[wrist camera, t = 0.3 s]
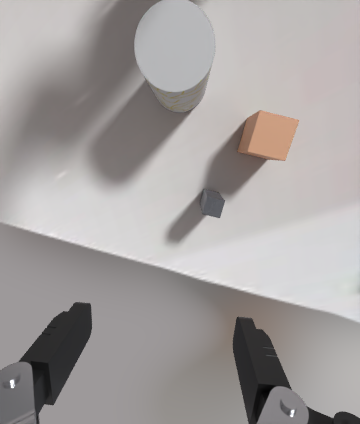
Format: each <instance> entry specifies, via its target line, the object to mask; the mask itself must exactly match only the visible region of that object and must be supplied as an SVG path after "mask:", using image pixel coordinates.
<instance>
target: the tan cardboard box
mask: <svg viewBox="0 0 360 424" xmlns="http://www.w3.org/2000/svg"><path fill="white" fill-rule="evenodd" d="M298 123H299V120H297V119H293V118H289V117H285V116H281V115H277V114H273V113H269V112H265V111H261V110H260V111H258V112H257V113H255V114H253V115H252V116H250V117H248V118H247V120H246V124H245V127H244V130H243V134H242V137H241V141H240V144H239V147H238V151H237V152H240V153H244V154H248V155H252V156H256V157H260V158H264V159H268V160H282V161H285V160H286V157H287V154H288V151H289V148H290V145H291V143H292V140H293V137H294V134H295V131H296V128H297V126H298Z"/></svg>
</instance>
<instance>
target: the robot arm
mask: <svg viewBox="0 0 360 424" xmlns="http://www.w3.org/2000/svg"><path fill="white" fill-rule="evenodd" d="M91 330H92V317H91V305H90V303H80V302H76V303H74V304H73V306H72V307H71V308H70V310H69V311H68V312H65V311H63V312H62V313H60V314H59V315H58V316H56V317H55V318H54V319H53V320H52V321H51V322H50V324H49V325H48V326H47V328H45V330H44V331H43V332H42V334H41V335H40V336H39V337H38V338H37V340H36V341H35V342H34V343H33V344H32V346H31V347H30V348H29V349H28V351H27V352H26V353H25V354H24V356H23V357H22V358H21V360H20V361H19V362H17V363H13V364H11V365H9V366H7V367H5V368H3V369H2V370H0V424H39V412H40V410H41V409H42V407H43V405H44V404H48V405H54V403H55V401H56V399H57V397H58V396H59V394H60V392H61V390H62V388H63V386H64V384H65V383H66V381H67V379H68V377H69V375H70V373H71V371H72V369H73V367H74V366H75V363H76V362H77V360H78V358H79V356H80V355H81V353H82V351H83V349H84V347H85V345H86V343H87V341H88V339H89V337H90V334H91ZM233 353H234V357H235V361H236V366H237V370H238V375H239V381H240V385H241V390H242V395H243V399H244V403H245V409H246V413H247V418H248V422H249V424H360V418H358V417H356V416H355V415H353V414H350V413H347V412H339V413H336V414H335V416H334V418H331V417H328V416H326V415H324V414H321V413H319V412H316V411H314V410H312V409H310V408H309V407H307V406H306V404H305V403H304V401H303V400H302V399H301V397H300V396H299V395H298V394H297V393H295V392H294V391H292V389H291V387H290V385H289V382H288V380H287V377H286V375H285V373H284V370H283V368H282V366H281V363H280V361H279V359H278V357H277V354H276V352H275V349H274V347H273V345H272V342H271V340H270V338H269V337H268V335H267V334H266V333H265V332H264V331H263V330H260V329H256V327H255V325H254V322H253V320H252V318H245V317H237V319H236V325H235V331H234V337H233Z"/></svg>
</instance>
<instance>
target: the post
mask: <svg viewBox="0 0 360 424" xmlns="http://www.w3.org/2000/svg"><path fill="white" fill-rule="evenodd" d="M224 202H225V200H224V199H223V198H222V196H221V195H220V194H219V192H215V191H211V190H207V189H204V190H203V193H202V197H201V201H200V206H201V211H202V214H204V215H209V216H213V217H217V218H220V216H221V212H222V209H223V206H224Z"/></svg>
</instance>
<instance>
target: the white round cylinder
mask: <svg viewBox="0 0 360 424" xmlns="http://www.w3.org/2000/svg"><path fill="white" fill-rule="evenodd" d="M134 51H135V57H136V61H137V64H138V66H139V69H140V70H141V72H142V74H143V76H144V77H145V79H146V81H147V82H148V84H149V86H150V88H151V89H152V91H153V93H154V94H155V96H156V98H157V99H158V101H159V102H160V104H161V105H162V106H163V107H165V108H166V109H168V110H170V111H173V112H186V111H189V110H191V109H193V108H194V107H196V106H197V105H198V104H199V102H200V101H201V100H202V98H203V96H204V93H205V90H206V86H207V82H208V78H209V75H210V71H211V67H212V63H213V59H214V55H215V34H214V30H213V27H212V24H211V22H210V20H209V18H208V17H207V15H206V14H205V12H204V11H203V10H202V9H201V8H200V7H199V6H197V5H196V4H194V3H193V2H191V1H189V0H162V1H160V2H158V3H156V4H154V5H153V6H152V7H151V8H149V9H148V10H147V12H146V13H145V14H144V15H143V17H142V19H141V20H140V22H139V24H138V27H137V30H136V34H135V40H134Z"/></svg>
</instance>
